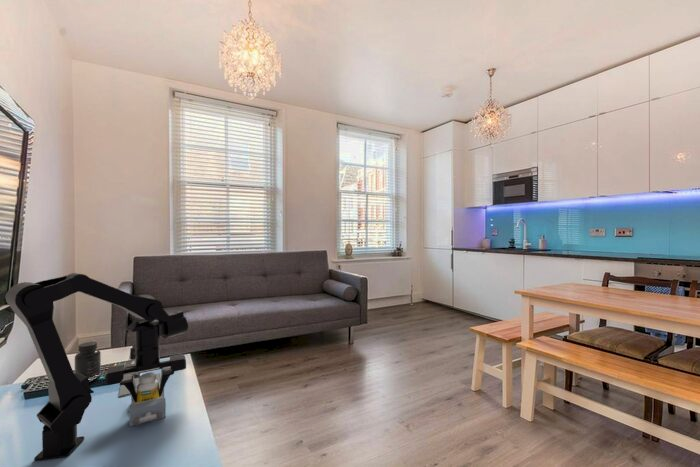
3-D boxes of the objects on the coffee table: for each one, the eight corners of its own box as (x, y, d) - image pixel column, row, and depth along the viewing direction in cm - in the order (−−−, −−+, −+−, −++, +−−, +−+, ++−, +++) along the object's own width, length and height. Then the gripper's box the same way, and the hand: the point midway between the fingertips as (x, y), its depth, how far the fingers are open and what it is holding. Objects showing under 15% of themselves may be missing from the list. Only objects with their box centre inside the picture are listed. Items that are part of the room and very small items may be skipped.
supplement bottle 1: (69, 382, 106) (69, 346, 105) (91, 373, 112) (91, 339, 112) (84, 385, 104) (84, 348, 103) (105, 376, 110) (105, 341, 110)
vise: (166, 422, 84) (166, 407, 84) (129, 432, 80) (128, 416, 80) (163, 394, 98) (163, 381, 98) (132, 402, 94) (131, 388, 94)
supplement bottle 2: (156, 402, 94) (156, 369, 94) (161, 409, 90) (161, 375, 90) (134, 409, 90) (134, 375, 90) (139, 417, 86) (138, 381, 86)
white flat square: (161, 387, 102) (161, 386, 102) (118, 397, 96) (118, 395, 96) (160, 374, 112) (160, 373, 112) (121, 382, 106) (121, 381, 106)
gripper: (182, 329, 102) (183, 379, 102) (109, 340, 92) (109, 395, 92) (186, 340, 92) (186, 394, 92) (104, 353, 82) (105, 414, 82)
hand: (148, 398), depth 90 cm, fingers closed on supplement bottle 2, 5 cm apart
